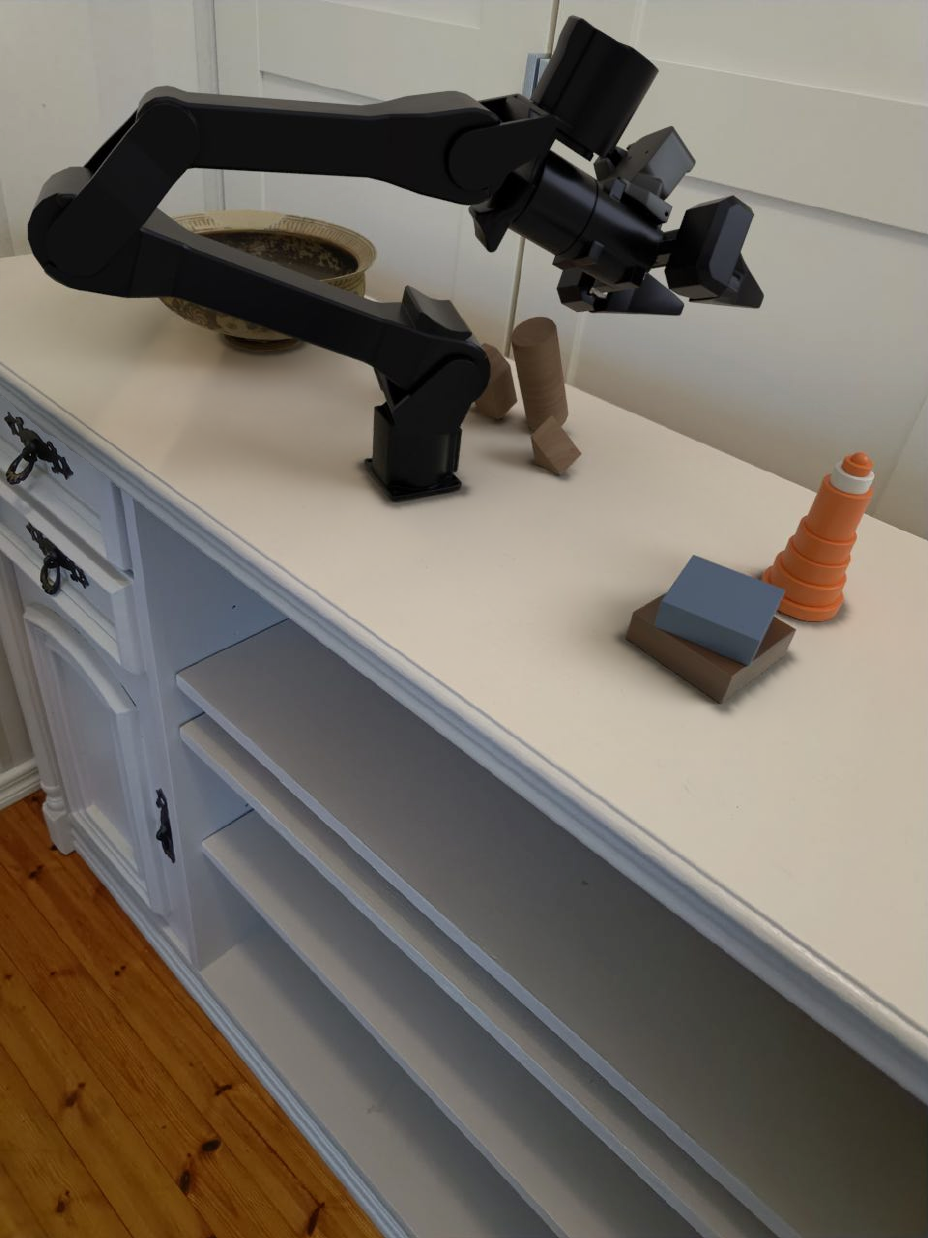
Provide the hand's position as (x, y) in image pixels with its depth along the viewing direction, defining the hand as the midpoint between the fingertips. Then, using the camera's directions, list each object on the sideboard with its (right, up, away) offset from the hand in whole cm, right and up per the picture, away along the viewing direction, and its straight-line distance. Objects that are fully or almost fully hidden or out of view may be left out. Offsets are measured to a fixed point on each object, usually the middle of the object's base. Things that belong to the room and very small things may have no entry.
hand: (718, 306), depth 70 cm
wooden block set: (-17, -7, +13) cm, 22 cm away
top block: (-4, -26, -12) cm, 29 cm away
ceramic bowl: (-43, +5, +23) cm, 49 cm away
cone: (+5, -24, -5) cm, 25 cm away
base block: (-4, -28, -10) cm, 30 cm away
